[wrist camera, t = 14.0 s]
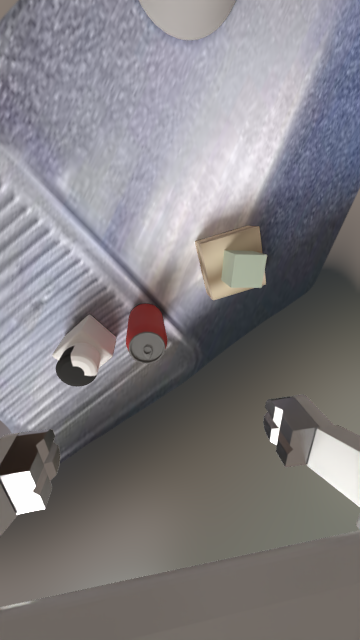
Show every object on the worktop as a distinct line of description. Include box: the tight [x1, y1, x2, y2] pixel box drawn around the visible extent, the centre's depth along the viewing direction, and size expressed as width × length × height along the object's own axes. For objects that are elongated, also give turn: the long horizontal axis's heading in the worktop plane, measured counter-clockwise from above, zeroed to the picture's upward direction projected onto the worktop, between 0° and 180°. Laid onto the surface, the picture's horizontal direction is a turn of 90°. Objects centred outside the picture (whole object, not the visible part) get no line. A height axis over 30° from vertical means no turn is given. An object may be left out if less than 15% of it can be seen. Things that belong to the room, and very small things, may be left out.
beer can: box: [126, 304, 167, 364], centre depth 42 cm, size 7×7×12 cm
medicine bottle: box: [53, 315, 116, 386], centre depth 42 cm, size 7×7×12 cm
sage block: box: [221, 250, 267, 288], centre depth 39 cm, size 5×5×5 cm
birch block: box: [195, 226, 266, 300], centre depth 43 cm, size 10×10×5 cm
